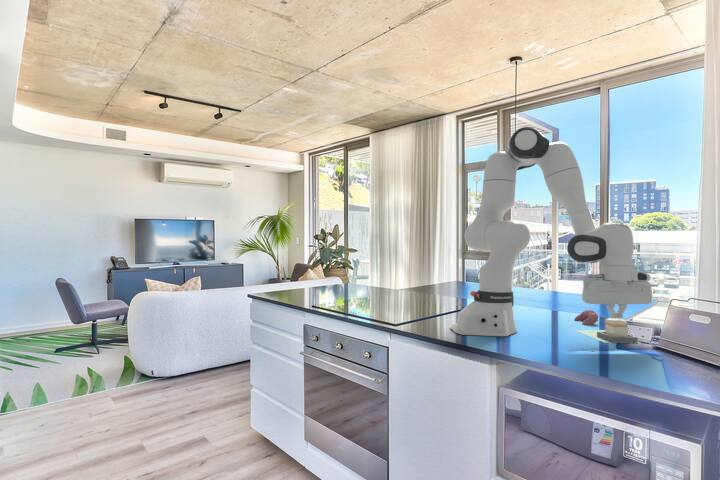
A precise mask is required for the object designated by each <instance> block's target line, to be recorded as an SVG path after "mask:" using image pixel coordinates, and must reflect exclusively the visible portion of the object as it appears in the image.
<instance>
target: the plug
mask: <svg viewBox="0 0 720 480" xmlns="http://www.w3.org/2000/svg"><path fill="white" fill-rule="evenodd" d="M604 324H605V327H604V328H605V329H604V330H605V334H607V335H609V336H612V337H627V334H628V321H627V320H624V319H619V318H614V319H613V318H605V323H604Z"/></svg>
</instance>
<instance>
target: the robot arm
mask: <svg viewBox="0 0 720 480" xmlns="http://www.w3.org/2000/svg"><path fill="white" fill-rule="evenodd" d="M508 146H509V147H508V148H507V149H506V150H504V151H496V152H494V153H491V154H490V155H489V156H488V158H487V160H486V163H485V168H484V172H483V180H482V193H481V202H480V206H479V208H478V212H477V213H476V216H475V217H474V219H473V221H472V222H471V223H470V224H469V225H468V226H467V227H466V228H465V230H464V236H463V237H464V242H465V245H466V246H467V247H468V248H470V249H471V250H475V251H478V252H490V253H489V257H488V259H487V261H486V262H485V263H483V264H482V265H481V266H480V268H479V271H478V272H479V273H478V274H479V277H478V278H479V280H478V281H479V283H478V284H479V289H478V290H476V291H475V290H470V293H469V296H470V297H473V301H472V302H470V303H469V304H468V305H466V306H464V308H462V309H460V311H459V313H458V316H457V322H456V323H453V324H451V326H450V328H451V330H452V331H453V332H454V333H455V334H458V335H463V336H483V337H484V336H487V337H490V336H491V337H509V336H510V335H513V334H516V333H517V332H518V331H517V328H516V323H515V318H514V311H513V310H514V309H513V307H514V299H515V298H514V292H513V271H514V266H515V263H516V260H517V259H518V256H519V255H520V254H521V253H522V252H523V251H524V250H525V249H526V248H527V247H528V245H529V243H530V241H531V232H530V229H529V227H528V226H527V225H526V224H525V223H523V222H520V221H515V220H510V219H509V220H503V219H504V216H505V215H506V213H507V212H508V211H510V210H511V209H512V208H513V206H514V204H515V197H516V196H515V195H516V182H517V180H516V179H517V171H520V170H523V169H528V168H531V167H533V166H535V165H537V166H538V167H540V170H541V172H542V174H543V178H544V181H545V184H546V185H545V186H546V187H547V189H548V191H549V193H550V195H551V197H552V198H553V199H554V200H555V201H556V202H558V204H559V205H561V206H562V207H563V209H564V210H565V212H567V215H568V217H569V221H570V222H571V227H572V229H573V232H574V235H575V236H573V237H572V238H571V239H569V241H568V243H567V245H566V251H567V254H568V256H569V257H570V258H571V259H572V260H574V261H576V262H578V263H581V264H582V263H583V264H587V263H588V264H595V263H599V265H600V269H599V272H600V273H599V274H593V273H592V274H591V273H590V274H587V275H586V276H584V278H583V279H582V282H583V284H582V285H583V287H582V293H581V300H582V301H583V303H585V304H588V305H605V307H606V308H607V310H608V311H609V313H610V314H609V317H610V319H621V320H623V318H624V316H623V315H624V314H623V313H624V312H625V311H626V310H627V308H628V307H627V305H650V304H651V303H652V302H653V301H652V300H653V288H652V285H651V283H650V282H649V281H650V280H651V275H650V274H649V273H646V272H644V271H639V270H637V269H634V262H633V254H634V236H633V232H632V228H630V227H629V226H628V225H626V224H623V223H622V224H621V223H614V222H604V223H603V224H601V225H599V227H596V228H595V224H594V222H593V220H592V217H591V214H590V211H589V209H588V205H587V200H586V199H587V198H586V195H585V188H584V187H585V186H584V179H583V176H582V172H581V169H580V166H579V163H578V160H577V157H576V156H575V154H574V152H573V150H572V149H571V146H570V145H568V144H567V143H566V142H562V141H555V142H551V143H550V140H549V138H548V137H546V136H545V135H543V134H542V133H541V131H540V130H538V129H537V128H534V127H531V126H523V127H521V128H518V129H517V130H515V132H513V134H512V135H511V137H510V139H509V142H508ZM616 305H617V307H619V308H618V309H617V311H615V309H614V308H615V307H616Z"/></svg>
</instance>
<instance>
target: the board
mask: <svg viewBox="0 0 720 480" xmlns="http://www.w3.org/2000/svg"><path fill="white" fill-rule="evenodd" d="M574 331H575V332H578V333H580V334H582V335H585V336H587V337H589V338H592V339H593V340H597V341H598V342H602V343H604V344H641V341H638V336H635V335H632V334H629V333H627V337H612V336H609V335H607V334H605V329H593V330H592V329H591V330H589V329H587V330H586V329H585V330H582V329H581V330H580V329H579V330H577V329H575V330H574Z"/></svg>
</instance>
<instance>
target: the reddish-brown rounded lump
mask: <svg viewBox="0 0 720 480" xmlns="http://www.w3.org/2000/svg"><path fill="white" fill-rule="evenodd" d="M574 322H582V323H581V324H582V325H583V326H592V325H594V324H596V323H597V322H599V315H598V314H597V312H596V311H594V310H592V309H585V310H583V311H582V312H581V313H580V314H578V315H576V316H575V318H574Z"/></svg>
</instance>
